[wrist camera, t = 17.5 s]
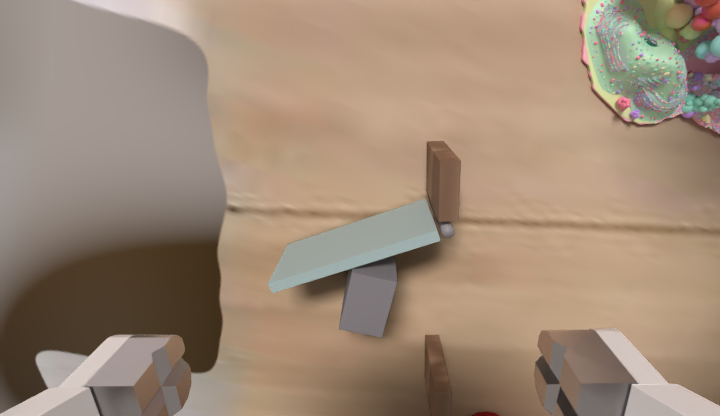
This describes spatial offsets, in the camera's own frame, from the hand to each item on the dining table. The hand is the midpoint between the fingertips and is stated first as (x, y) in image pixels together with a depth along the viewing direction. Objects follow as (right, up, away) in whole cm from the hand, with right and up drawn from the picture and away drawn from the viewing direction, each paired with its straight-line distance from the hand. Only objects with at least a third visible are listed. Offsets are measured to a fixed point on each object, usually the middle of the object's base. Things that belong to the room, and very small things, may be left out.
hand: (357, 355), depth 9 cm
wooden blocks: (+8, -3, +34) cm, 35 cm away
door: (0, +2, +32) cm, 32 cm away
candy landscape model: (+32, +21, +25) cm, 45 cm away
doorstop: (+1, -2, +34) cm, 34 cm away
